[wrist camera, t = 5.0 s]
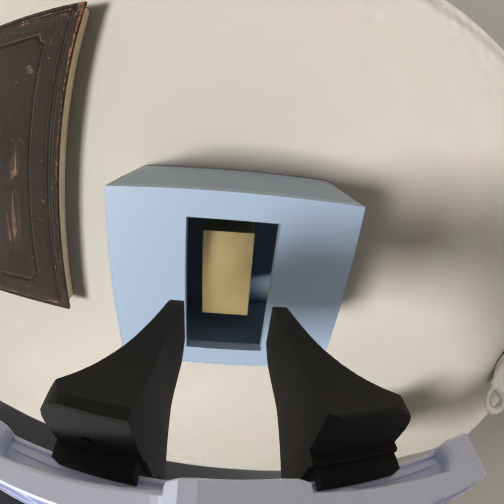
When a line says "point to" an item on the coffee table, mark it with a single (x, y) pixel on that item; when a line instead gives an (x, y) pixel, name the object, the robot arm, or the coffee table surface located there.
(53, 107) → the hardcover book
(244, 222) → the tan wooden block
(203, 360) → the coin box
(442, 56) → the coffee table surface
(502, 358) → the teacup
